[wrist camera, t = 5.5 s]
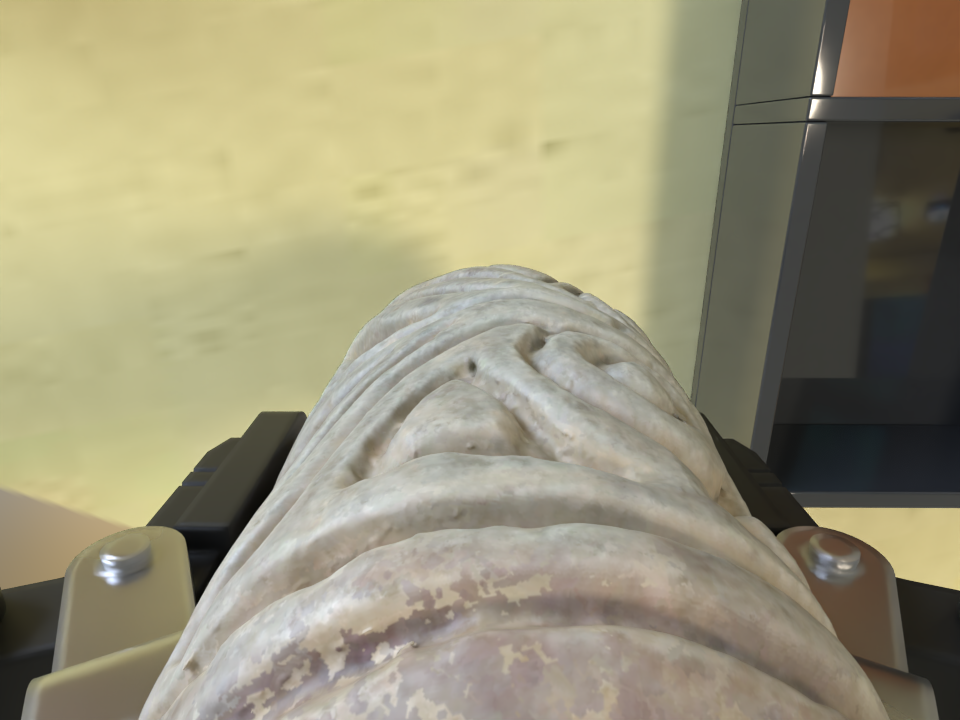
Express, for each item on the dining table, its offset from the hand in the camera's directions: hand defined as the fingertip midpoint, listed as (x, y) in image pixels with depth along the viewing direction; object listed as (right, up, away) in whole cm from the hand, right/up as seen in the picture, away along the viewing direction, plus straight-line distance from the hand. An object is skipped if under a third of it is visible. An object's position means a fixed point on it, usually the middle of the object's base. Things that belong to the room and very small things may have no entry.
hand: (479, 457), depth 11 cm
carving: (0, +1, +4) cm, 4 cm away
